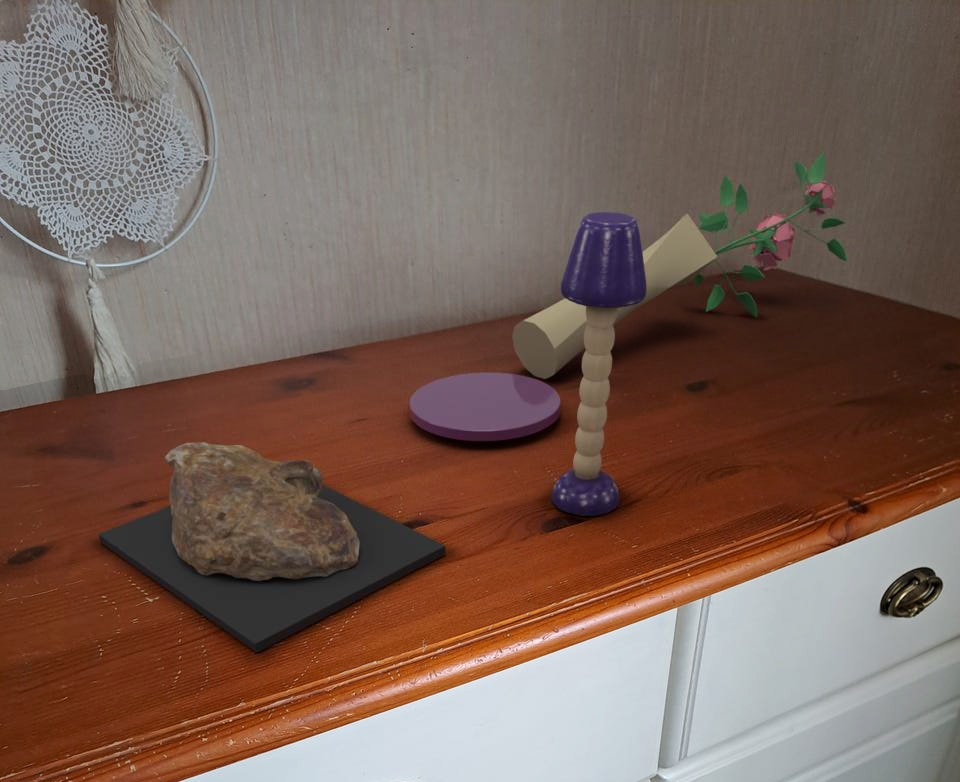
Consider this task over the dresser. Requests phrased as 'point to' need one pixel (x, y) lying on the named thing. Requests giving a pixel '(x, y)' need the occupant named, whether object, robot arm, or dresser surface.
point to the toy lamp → (598, 346)
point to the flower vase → (679, 270)
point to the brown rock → (255, 515)
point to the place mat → (276, 601)
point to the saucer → (485, 406)
